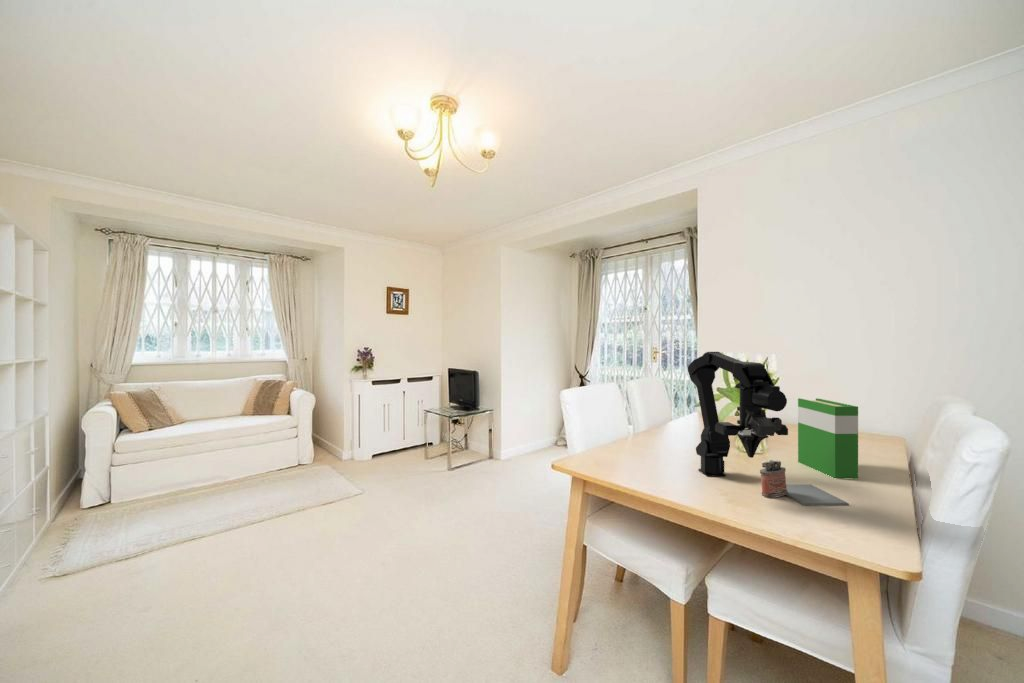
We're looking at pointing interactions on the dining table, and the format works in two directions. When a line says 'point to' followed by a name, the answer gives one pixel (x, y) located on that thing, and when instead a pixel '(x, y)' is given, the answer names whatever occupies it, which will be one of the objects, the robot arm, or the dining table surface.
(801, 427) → the hardback book
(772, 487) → the lighter
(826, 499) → the mat
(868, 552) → the dining table surface
